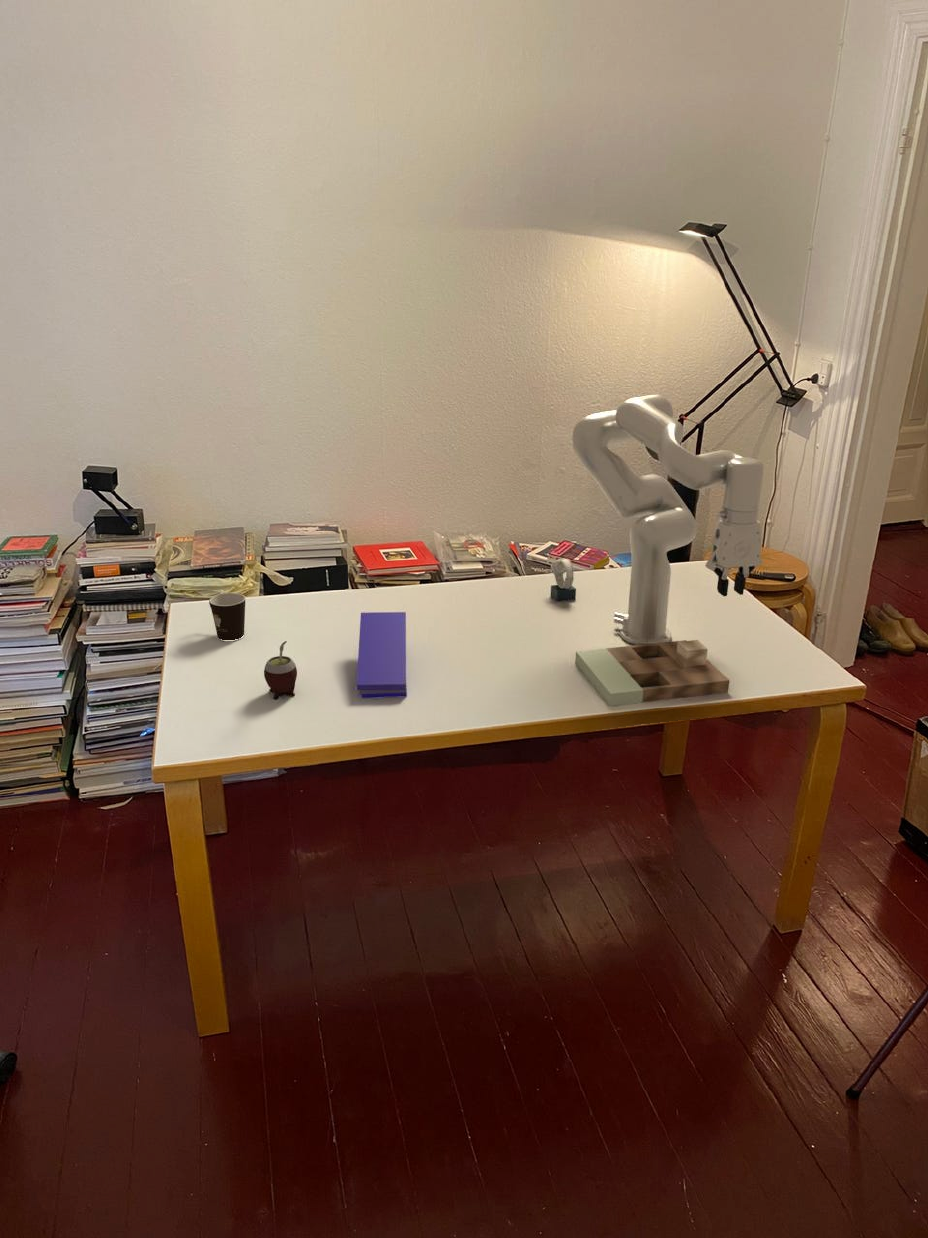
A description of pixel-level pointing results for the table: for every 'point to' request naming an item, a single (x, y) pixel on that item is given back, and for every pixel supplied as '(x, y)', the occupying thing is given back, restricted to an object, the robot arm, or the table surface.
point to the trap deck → (668, 672)
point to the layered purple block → (382, 655)
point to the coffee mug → (228, 615)
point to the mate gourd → (281, 675)
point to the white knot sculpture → (563, 588)
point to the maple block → (691, 653)
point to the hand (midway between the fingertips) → (730, 592)
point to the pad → (609, 677)
